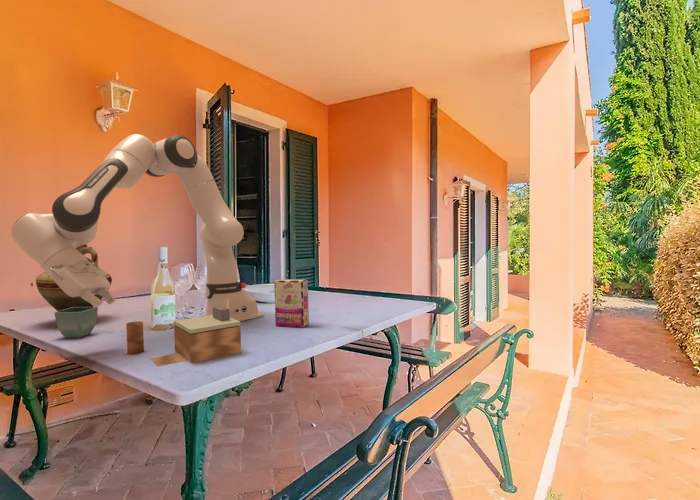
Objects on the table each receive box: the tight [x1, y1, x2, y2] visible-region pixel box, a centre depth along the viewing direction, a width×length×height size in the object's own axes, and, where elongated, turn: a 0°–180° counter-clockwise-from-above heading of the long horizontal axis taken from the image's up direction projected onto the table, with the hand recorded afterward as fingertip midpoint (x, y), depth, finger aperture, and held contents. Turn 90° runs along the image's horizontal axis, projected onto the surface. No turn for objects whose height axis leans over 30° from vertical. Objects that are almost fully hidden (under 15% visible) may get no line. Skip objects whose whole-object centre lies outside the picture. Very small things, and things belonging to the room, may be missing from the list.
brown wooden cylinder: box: [125, 320, 145, 355], centre depth 107 cm, size 4×4×9 cm
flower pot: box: [54, 307, 99, 339], centre depth 130 cm, size 9×9×9 cm
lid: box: [173, 306, 241, 334], centre depth 107 cm, size 13×14×4 cm
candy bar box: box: [273, 278, 310, 329], centre depth 140 cm, size 11×5×16 cm, turn 71°
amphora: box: [35, 244, 113, 312], centre depth 150 cm, size 24×24×30 cm
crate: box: [149, 324, 242, 367], centre depth 105 cm, size 20×14×8 cm
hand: (106, 303), depth 105 cm, fingers open, 8 cm apart
